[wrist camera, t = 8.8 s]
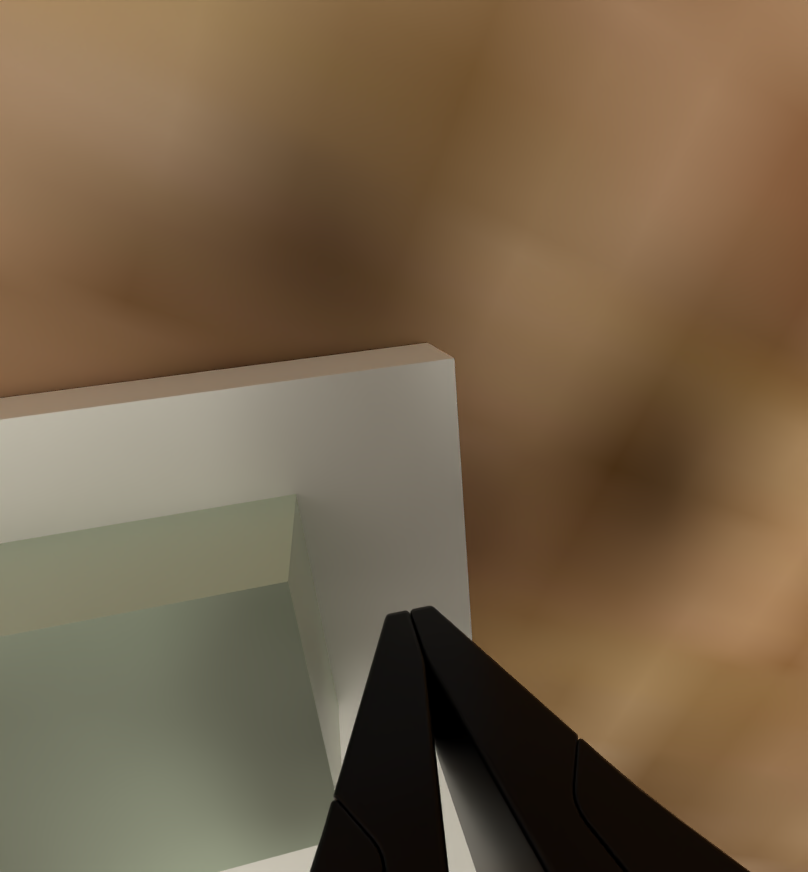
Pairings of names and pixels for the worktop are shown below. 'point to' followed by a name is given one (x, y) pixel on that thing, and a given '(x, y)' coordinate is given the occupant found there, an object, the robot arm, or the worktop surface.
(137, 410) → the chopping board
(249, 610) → the sage tile
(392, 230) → the worktop surface
